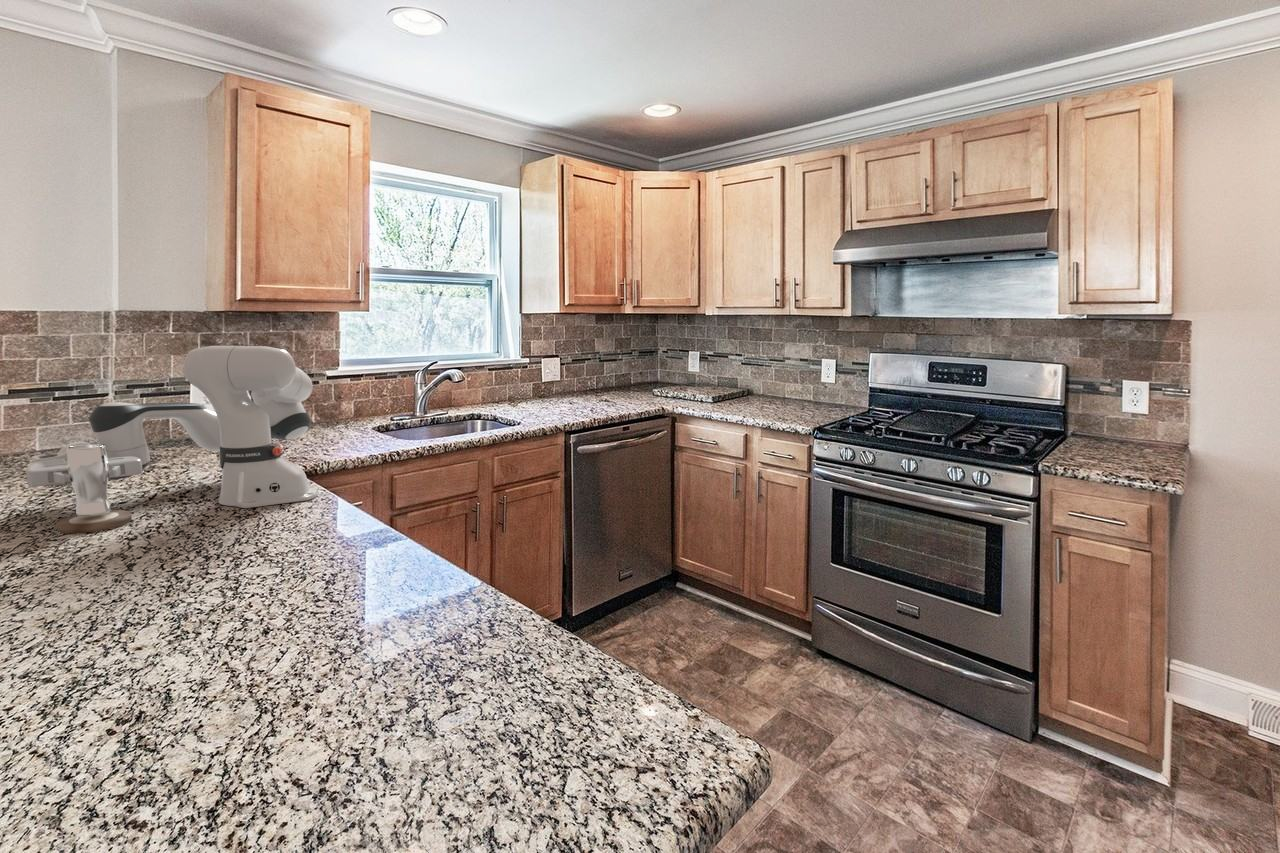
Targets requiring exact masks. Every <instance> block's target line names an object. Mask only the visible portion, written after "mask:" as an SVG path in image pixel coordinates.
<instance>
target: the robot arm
mask: <svg viewBox="0 0 1280 853" xmlns="http://www.w3.org/2000/svg"><path fill="white" fill-rule="evenodd" d="M183 372H184V376H185V377H186V380H187V381H188V383H189V384H191V385H192V386H194V387H196V388H197V389H198V390H199V391H200V392H202V393H203V394H204V396H205V397H206V398H207V399H208V401H209V403H210V404H211V405H212V407H213V410H211V409H208V408H207V407H206V406H205V405H204V404H202V403H194V402H153V403H150V402H148V403H147V402H145V403H133V402H132V403H130V402H124V401H123V402H122V401H121V402H120V401H113V402H106V403H105V402H104V403H103V404H100V405H97V406H96V407H94V409H93V411H92V412H91V414H90V416H89V417H88V420H89V423H90V426H91V428H92V431H93V433H94V436H95V440H96V441H95V442H96V444H105V448H106V452H107V457H108V465H109V472H108V474H109V475H108V481H111V480H112V481H114V480H120V479H126V478H130V477H133V476H138V475H141V474H142V473H143V470H145V469H146V468H147V467H148V466H149V464H150V463H151V457H150V451H149V447H148V444H147V440H146V437H145V436H146V435H145V431H144V426H143V423H144V420H148V419H170V418H171V419H174V420H176V421H177V422H178V423H180V425H181V426H182V427H183V428H184V430H185V431H186V432H187V433H188V434H187V435H188V436H189V437H190V438H191V440H192V441H193V442H194V443H195V444H196V445H198V446H199V447H200V448H202V449H204V450H207V451H211V452H218V456H219V465H220V468H221V485H220V493H219V498H218V500H217V503H218V504H220V505H222V506H230V507H238V508H241V509H248V508H250V509H251V508H256V507H257V508H258V507H265V506H272V505H279V504H287V503H289V504H290V503H296V502H303V501H305V502H306V501H309V500H310V501H311V500H312V499H314V498H315V497H317V496H318V494H319V492H318V490H319V489H318V488H317V487H316V486H315V485H311V484H309V481H308V478H307V474H306V473H305V471H304V470H303V468H301V467H300V466H298V465H296V464H294V463H293V462H291V461H289V460H288V459H286V458H285V457H282V451H283V449H282V447H281V445H280V444H279V443H278V444H276V443H274V442H272V439H276V440H279V441H292V440H294V439H295V440H296V439H298V438H300V437H302V436H303V435H305V434H306V433H307V432H308V431H309V430H310V428H311V427H312V421H311V418H310V415H309V413H307V411H306V409H305V407H304V404H303V403H302V402H304V401H305V400H307V399H308V398H310V397H311V394H312V392H313V390H314V389H313V387H314V386H313V385H314V384H313V380H312V379H311V378H310V376H309V375H308V374H307V373H305V371H303V369H301V368H300V367H298V366H297V365H296V362H295V359H294V357H293V356H292V355H291V354H290V353H289V352H288V351H287V350H286V349H282V348H277V347H272V346H267V345H266V346H265V345H264V346H263V345H209V346H201V347H198V348H197V347H196V348H194V349H192V350H190V351H189V352H188V353H187V354H186V356H185V358H184V361H183ZM247 391H248V393H247ZM248 394H249V395H248ZM249 396H250V397H251V398H252V399H251V398H250V397H249ZM252 400H253V401H252ZM82 444H90V443H88V442H85V441H73V442H70V443H68V444H65V445H64V446H62V447H61V448H60V449H59V450H58V453H54V454H53V453H52V454H49V455H45V456H39V457H33V459H32V463H31V464H29V465H28V466H27V468H26V469H25V470H26V471H25V473H26V474H25V475H26V482H27V487H28V488H38V487H49V486H51V487H52V486H53V487H55V486H68V487H69V486H71V487H73V485H72V483H71V480H70V475H69V473H68V467H67V447H70V446H74V445H82Z"/></svg>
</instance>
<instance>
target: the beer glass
mask: <svg viewBox="0 0 1280 853" xmlns="http://www.w3.org/2000/svg"><path fill="white" fill-rule="evenodd" d="M67 467H68V473H69V475H70V480H71V483H72V485H73V486H72V487H73V488H72V489H73V490H74V493H75V497H76V509H75V515H77V516H94V515H100V514H104V513H108V512H110V511H111V510H112V507H111V504H110V502H109V499H108V484H109V480H108V475H109V474H108V472H109V465H108V457H107V452H106V448H105V444H97V443H89V444H82V445H74V446H70V447H67Z"/></svg>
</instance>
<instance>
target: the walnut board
mask: <svg viewBox="0 0 1280 853" xmlns="http://www.w3.org/2000/svg"><path fill="white" fill-rule="evenodd" d="M131 520H132V512H130V511H127V510H124V509H123V510H121V509H118V510H117V509H116V510H115V509H111V511H110V512H108V513H104V514H100V515H94V516H77V515H76V514H75V515H71V516H67V517H64V518H61V519H59V520H58V521H56V523H55V528H56V532H57V531H58V532H57V533H59V532H60V534H64V533H71V534H70V535H73V534H72V533H75V534H74V535H77V534H76V533H82V534H88V533H87V532H92V533H97V532H96V531H99V532H102V531H101V530H104V531H108V530H107V529H109V530H112V529H111V528H113V529H117V528H119V526H121V527H123V526H125V525H124V524H126V525H128V524H130V523H131V522H132V521H133V520H132V521H131ZM130 521H131V522H130ZM129 522H130V523H129ZM127 523H128V524H127ZM122 525H123V526H122ZM116 527H117V528H116Z"/></svg>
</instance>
